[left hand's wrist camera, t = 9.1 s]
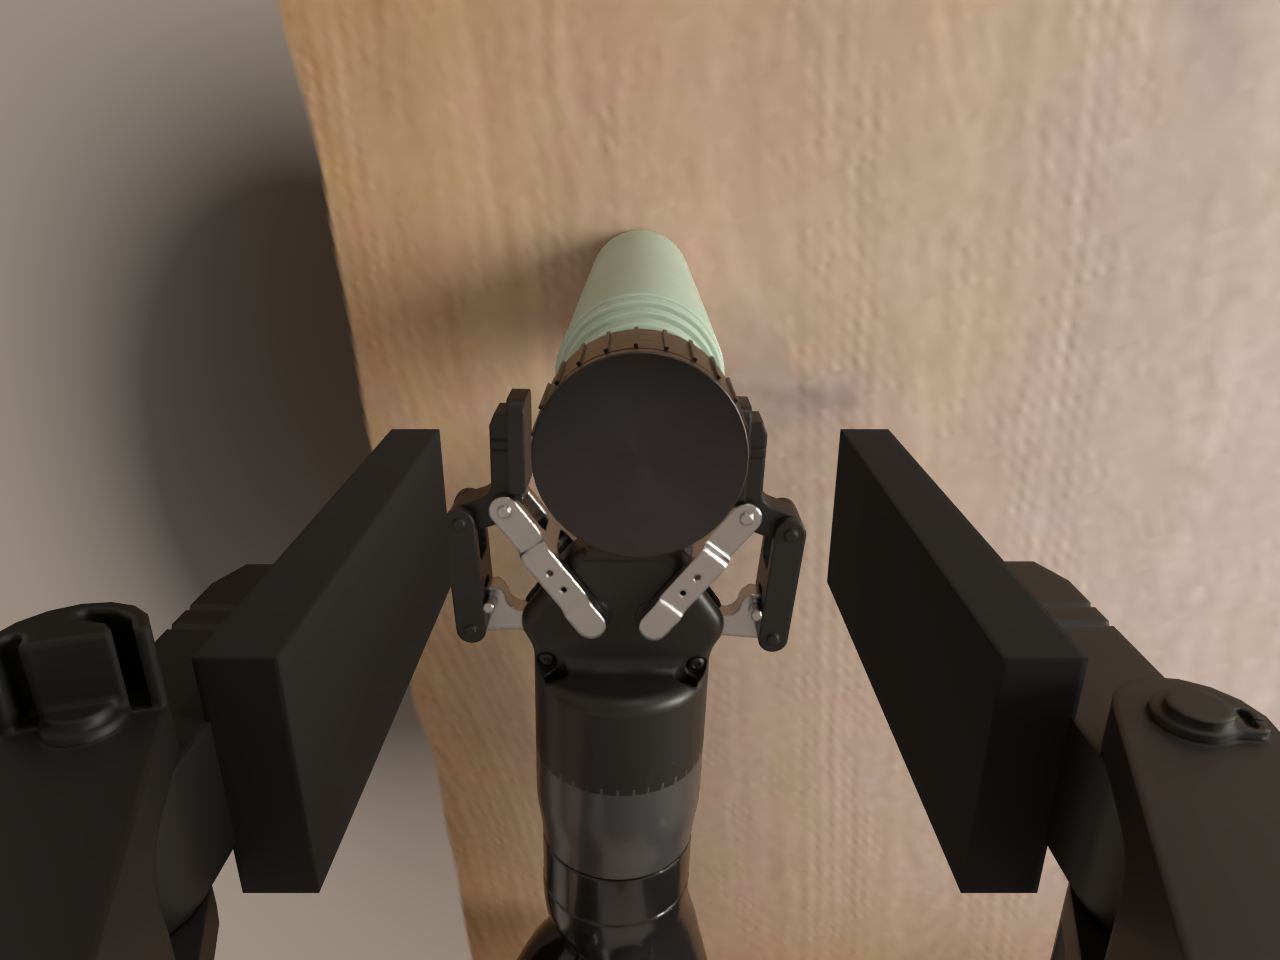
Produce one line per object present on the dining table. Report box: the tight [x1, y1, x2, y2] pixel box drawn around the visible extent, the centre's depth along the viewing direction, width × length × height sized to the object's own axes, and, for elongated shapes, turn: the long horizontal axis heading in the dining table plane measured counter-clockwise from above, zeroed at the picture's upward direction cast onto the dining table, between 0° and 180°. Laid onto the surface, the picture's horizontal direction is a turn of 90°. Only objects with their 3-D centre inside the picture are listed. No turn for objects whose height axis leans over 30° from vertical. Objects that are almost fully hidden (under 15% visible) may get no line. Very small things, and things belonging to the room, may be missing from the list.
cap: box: [531, 327, 749, 557], centre depth 17 cm, size 4×4×2 cm
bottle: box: [555, 230, 724, 376], centre depth 27 cm, size 4×4×23 cm
